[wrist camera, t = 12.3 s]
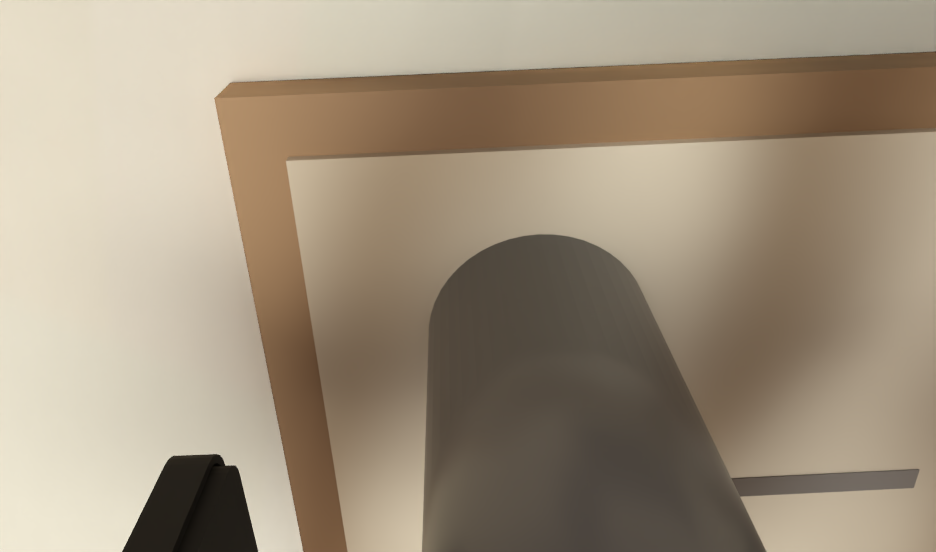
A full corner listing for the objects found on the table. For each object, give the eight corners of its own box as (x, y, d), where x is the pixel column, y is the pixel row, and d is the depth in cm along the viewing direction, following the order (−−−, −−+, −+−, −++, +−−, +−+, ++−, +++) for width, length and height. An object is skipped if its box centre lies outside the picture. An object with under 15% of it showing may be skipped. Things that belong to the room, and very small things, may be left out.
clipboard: (1290, 36, 13) (1426, 61, 11) (1018, 622, 20) (1074, 695, 18) (230, 83, 13) (195, 116, 11) (336, 657, 20) (326, 734, 18)
